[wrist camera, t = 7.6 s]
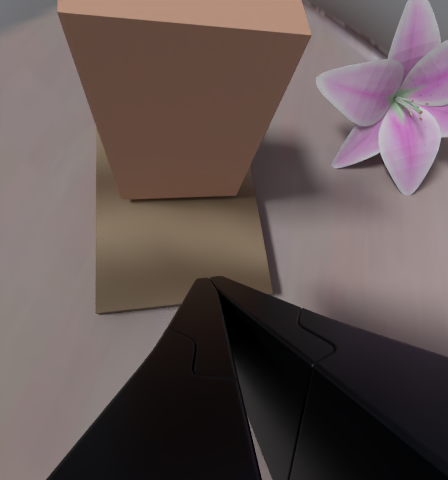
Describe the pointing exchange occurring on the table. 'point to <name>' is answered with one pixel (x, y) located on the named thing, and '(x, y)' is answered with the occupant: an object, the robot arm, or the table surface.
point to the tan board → (172, 244)
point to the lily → (396, 100)
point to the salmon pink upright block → (183, 86)
